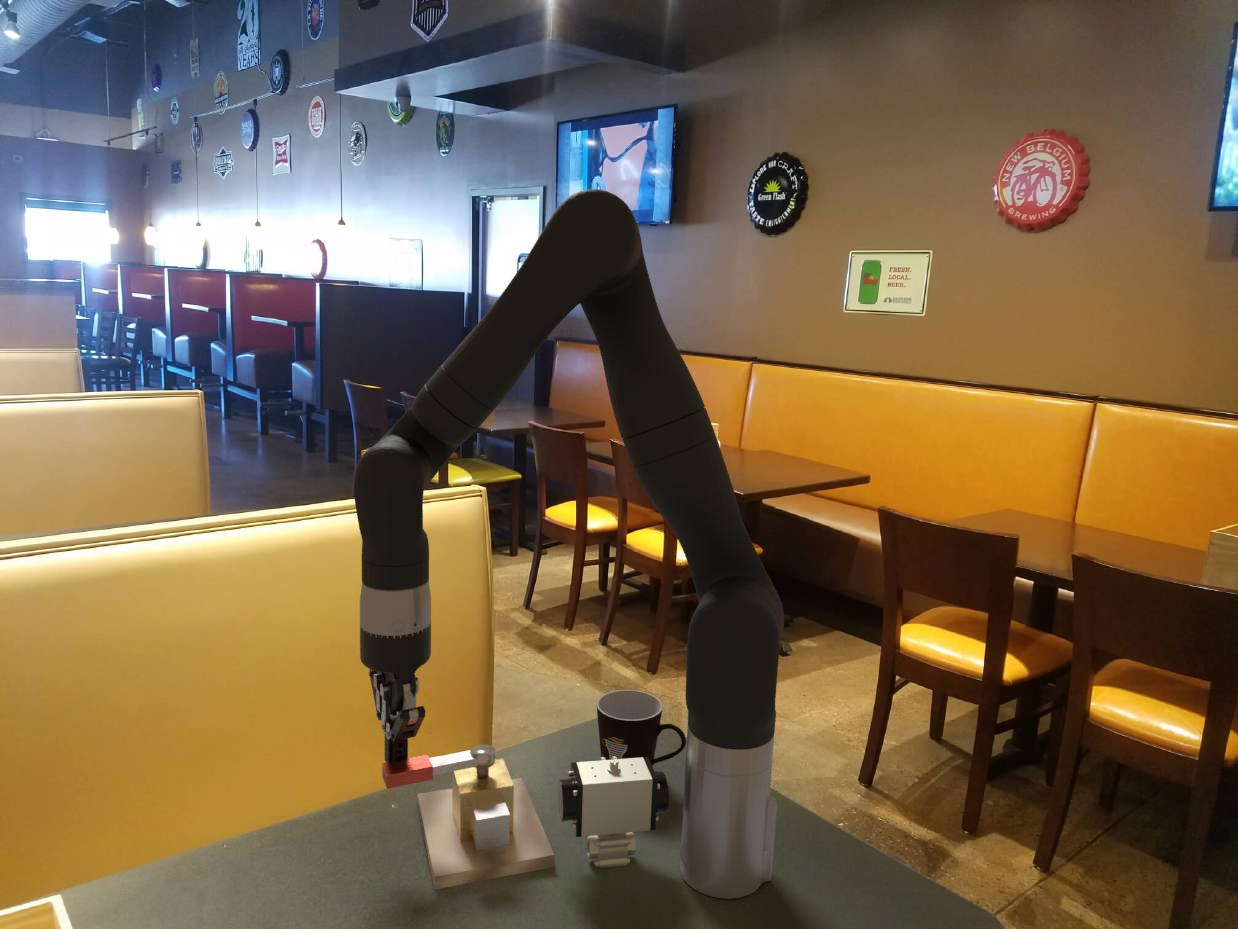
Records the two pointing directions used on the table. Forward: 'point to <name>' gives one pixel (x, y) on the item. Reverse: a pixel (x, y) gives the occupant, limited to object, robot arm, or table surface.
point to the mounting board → (461, 859)
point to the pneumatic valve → (612, 805)
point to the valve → (484, 807)
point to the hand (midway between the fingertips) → (396, 763)
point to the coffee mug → (632, 725)
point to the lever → (435, 766)
